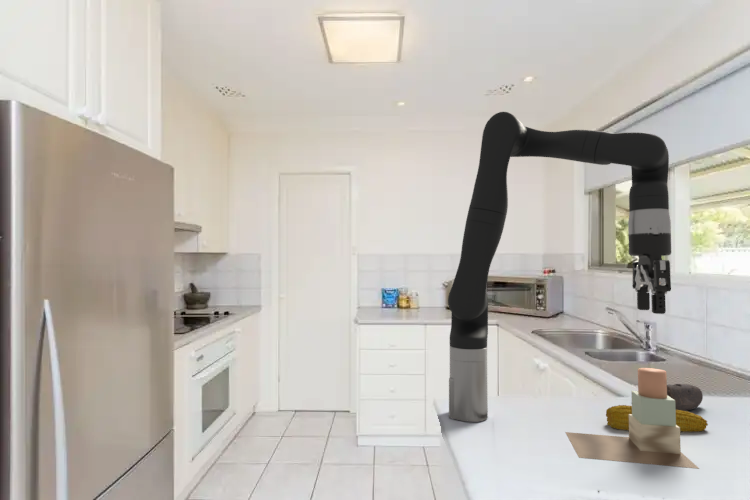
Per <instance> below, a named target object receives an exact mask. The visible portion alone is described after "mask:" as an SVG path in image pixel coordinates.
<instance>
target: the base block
mask: <svg viewBox="0 0 750 500" xmlns="http://www.w3.org/2000/svg"><path fill="white" fill-rule="evenodd" d="M628 437H629V438H630V439H631V441H632V442H633V443H634V444H635V445H636V446H637V447H638V448H639V449H640V451H651V452H663V453H674V454H681V431H680V427H678V426H677V425H676V427H675V426H662V425H648V424H641V423H640V422H639V421H638V420H637V419H636V418H635V417H634V416H633V415H632V414H629V430H628Z"/></svg>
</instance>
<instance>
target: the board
mask: <svg viewBox="0 0 750 500" xmlns="http://www.w3.org/2000/svg"><path fill="white" fill-rule="evenodd" d="M565 434H566V436H567V438H568V441H569V442H570V443H571V446H572V447H573V449H574V451H575V453H576V454H577V457H578V458H579V459H589V460H591V459H592V460H599V461H600V460H601V461H610V462H611V461H612V462H623V463H634V464H643V465H654V466H655V465H656V466H664V467H665V466H666V467H674V468H675V467H677V468H687V469H700V468H699V467H698V466H697V464H695V463H694V462H693V461H692V460H691V459H690V458H688V457H687V456H686V455H685V454H684V453H683V452H681V454H674V453H663V452H651V451H640V449H639V448H638V447H637V446H636V445H635V444H634V443H633V442H632V441H631V439H630V438H629V436H619V435H608V434H607V435H606V434H605V435H604V434H592V433H583V432H582V433H580V432H570V431H569V432H568V431H567V432H566V431H565Z"/></svg>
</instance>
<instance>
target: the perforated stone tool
mask: <svg viewBox="0 0 750 500" xmlns="http://www.w3.org/2000/svg"><path fill="white" fill-rule="evenodd" d="M702 391H703V390H701V389H700V388H699V387H698V386H695V385H693V384H688V383H674V384H668V383H667V395H668V396H669V397H671V398H672V399H674V400H675V409H676V410H681V411H686V412H688V411H691V410H694V409H696V408H698V407H699V406H700V405H701V403H702V401H703V399H704V396H703V395H704V394H703V392H702Z"/></svg>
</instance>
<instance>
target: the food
mask: <svg viewBox="0 0 750 500" xmlns="http://www.w3.org/2000/svg"><path fill="white" fill-rule="evenodd" d="M605 413H606V414H605V416H606V422H607V423H606V424H607V426H610V428H612V429H615V430H621V431H622V430H623V431H624V430H625V431H629V414H632V405H627V404H621V405H620V404H618V405H614V406H611V407H608V408H607V409H606V412H605ZM676 425H677V426H678V427H680V432H681V433H683V432H684V433H686V432H689V433H692V432H695V433H696V432H702V431H705V430H706V429H707V427H708V425H709V424H708V420H706V419H705V418H704V417H703V416H701V415H699V414H696V413H694V412H690V411H681V410H676Z"/></svg>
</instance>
